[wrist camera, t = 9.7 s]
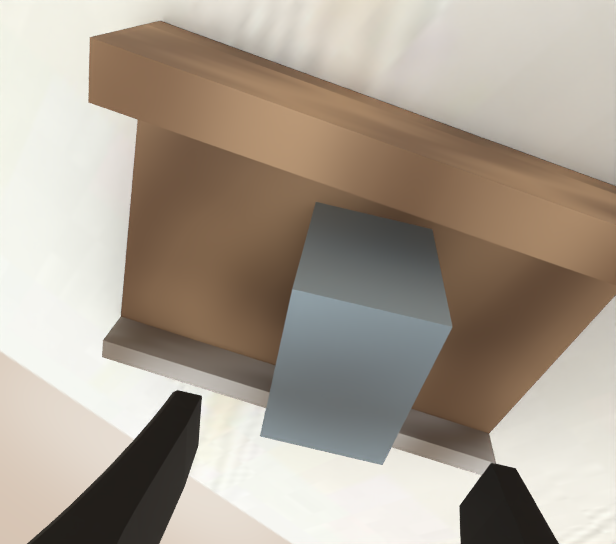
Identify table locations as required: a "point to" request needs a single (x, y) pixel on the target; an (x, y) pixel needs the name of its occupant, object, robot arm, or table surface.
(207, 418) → the table surface
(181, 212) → the wooden shelf
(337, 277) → the gray box
